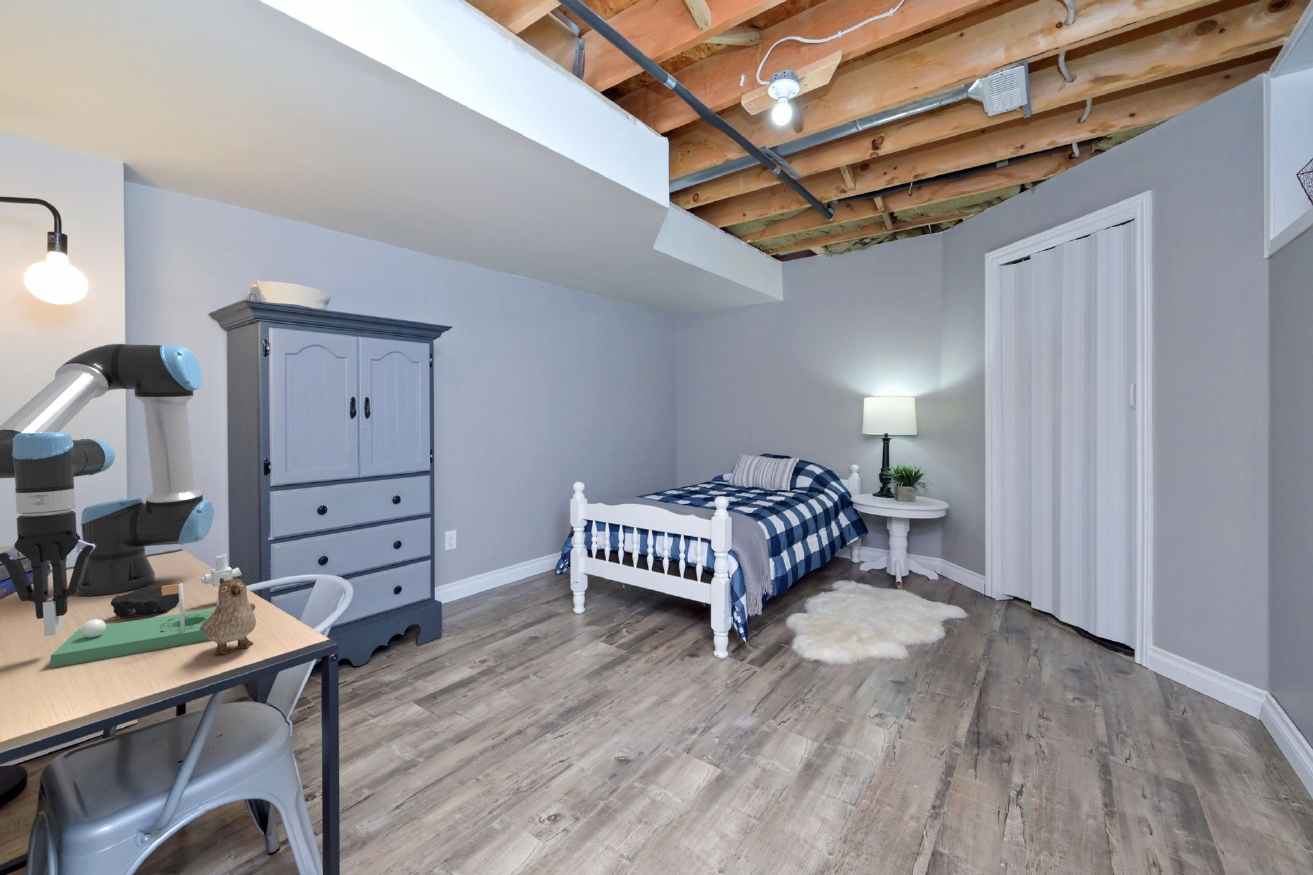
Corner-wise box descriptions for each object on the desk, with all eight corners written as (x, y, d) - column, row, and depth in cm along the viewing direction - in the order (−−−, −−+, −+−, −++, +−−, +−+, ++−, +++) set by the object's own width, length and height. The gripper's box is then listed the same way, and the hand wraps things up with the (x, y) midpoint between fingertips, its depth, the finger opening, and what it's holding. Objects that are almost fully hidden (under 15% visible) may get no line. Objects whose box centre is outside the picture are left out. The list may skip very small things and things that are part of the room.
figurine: (212, 665, 101) (208, 586, 100) (191, 653, 106) (188, 578, 105) (267, 647, 109) (264, 574, 108) (245, 636, 114) (243, 566, 113)
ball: (84, 635, 108) (84, 618, 108) (109, 631, 110) (108, 615, 110) (78, 642, 105) (77, 624, 105) (103, 638, 107) (102, 620, 107)
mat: (79, 640, 112) (76, 581, 111) (226, 616, 124) (224, 563, 124) (51, 668, 100) (47, 602, 99) (217, 638, 113) (214, 580, 112)
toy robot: (244, 600, 135) (242, 553, 134) (204, 608, 129) (202, 559, 129) (240, 596, 138) (239, 550, 137) (201, 604, 132) (199, 556, 131)
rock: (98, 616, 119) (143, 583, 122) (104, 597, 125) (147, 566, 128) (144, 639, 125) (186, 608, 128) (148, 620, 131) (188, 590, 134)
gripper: (-15, 519, 97) (-8, 648, 98) (87, 512, 104) (93, 632, 105) (5, 512, 103) (12, 633, 104) (100, 506, 110) (106, 619, 111)
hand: (53, 632), depth 105 cm, fingers closed
